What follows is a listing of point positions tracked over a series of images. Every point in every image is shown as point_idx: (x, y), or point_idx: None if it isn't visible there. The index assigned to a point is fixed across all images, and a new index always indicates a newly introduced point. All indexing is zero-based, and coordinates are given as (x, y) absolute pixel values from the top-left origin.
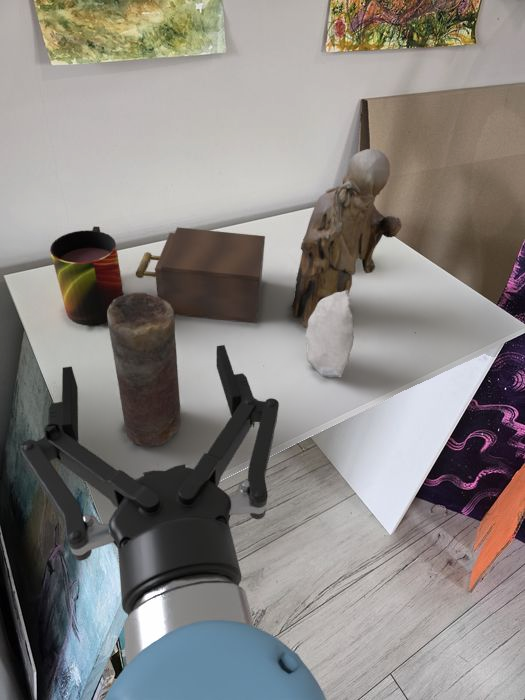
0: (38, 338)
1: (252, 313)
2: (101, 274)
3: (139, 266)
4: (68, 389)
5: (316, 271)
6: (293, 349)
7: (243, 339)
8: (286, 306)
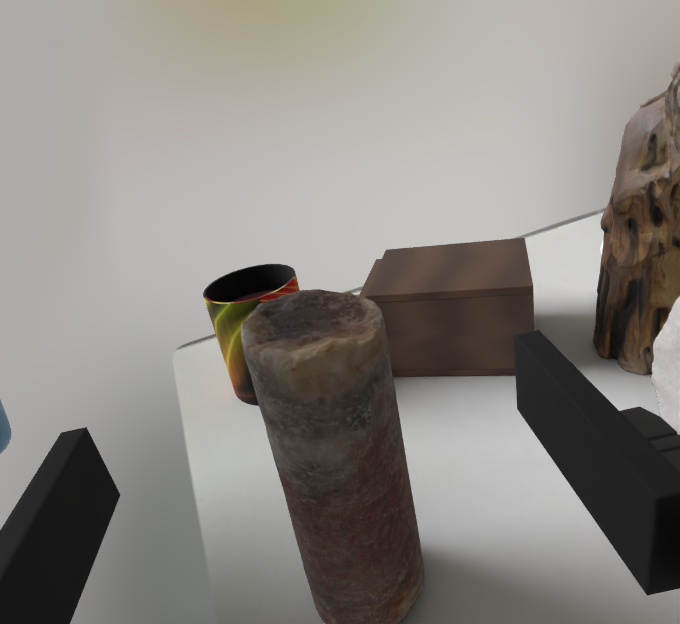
0: (190, 430)
1: None
2: None
3: None
4: (37, 498)
5: (649, 251)
6: None
7: None
8: (582, 344)
